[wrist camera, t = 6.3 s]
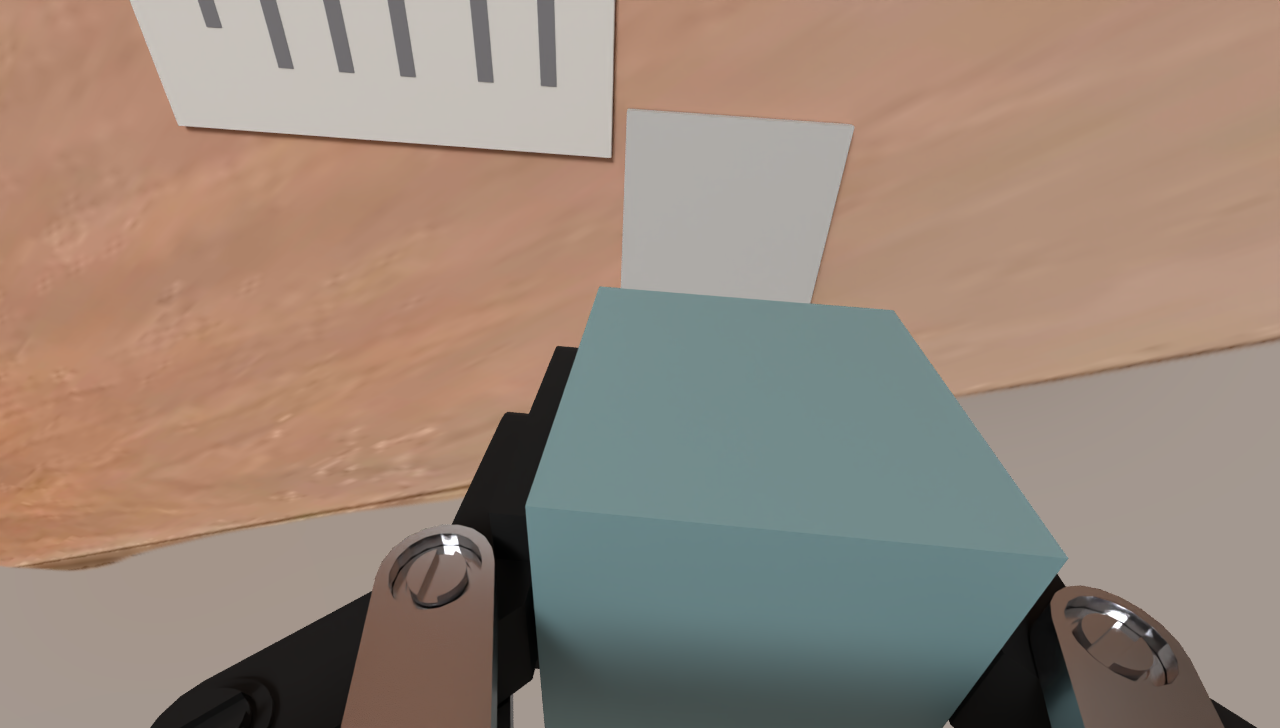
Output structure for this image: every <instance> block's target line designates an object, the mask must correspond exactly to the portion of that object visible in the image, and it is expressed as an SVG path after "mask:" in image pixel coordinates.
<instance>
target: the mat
mask: <svg viewBox="0 0 1280 728" xmlns="http://www.w3.org/2000/svg"><path fill="white" fill-rule="evenodd" d="M853 130H854V126H853V125H852V124H840V123H826V122H811V121H797V120H783V119H769V118H755V117H741V116H727V115H712V114H698V113H684V112H670V111H656V110H642V109H628V110H627V127H626V156H625V184H624V213H623V241H622V270H621V288H623V289H636V290H648V291H660V292H673V293H685V294H697V295H710V296H722V297H734V298H747V299H759V300H772V301H784V302H796V303H809V304H810V302H811V298H812V294H813V290H814V286H815V282H816V278H817V274H818V270H819V266H820V262H821V258H822V254H823V250H824V246H825V242H826V238H827V234H828V230H829V226H830V222H831V218H832V214H833V210H834V206H835V202H836V198H837V194H838V190H839V186H840V182H841V178H842V174H843V170H844V166H845V162H846V158H847V154H848V150H849V146H850V142H851V138H852V134H853Z"/></svg>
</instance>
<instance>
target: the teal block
mask: <svg viewBox="0 0 1280 728" xmlns="http://www.w3.org/2000/svg"><path fill="white" fill-rule="evenodd" d="M525 509H526V521H527V532H528V543H529V554H530V566H531V577H532V588H533V599H534V611H535V622H536V633H537V644H538V656H539V667H540V677H541V689H542V701H543V711H544V723H545V728H943V726H944V725H945V724H946V722H947V721H948V720H949V718H950V717H951V716H952V714H953V713H954V712H955V710H956V709H957V708H958V706H959V705H960V704H961V702H962V701H963V699H964V698H965V697H966V695H967V694H968V693H969V691H970V690H971V689H972V687H973V686H974V685H975V683H976V682H977V681H978V679H979V678H980V677H981V675H982V674H983V673H984V671H985V670H986V669H987V667H988V666H989V664H990V663H991V662H992V660H993V659H994V658H995V656H996V655H997V654H998V652H999V651H1000V650H1001V648H1002V647H1003V646H1004V644H1005V643H1006V642H1007V640H1008V639H1009V638H1010V636H1011V635H1012V634H1013V632H1014V631H1015V629H1016V628H1017V627H1018V625H1019V624H1020V623H1021V621H1022V620H1023V619H1024V617H1025V616H1026V615H1027V613H1028V612H1029V611H1030V609H1031V608H1032V607H1033V605H1034V604H1035V603H1036V601H1037V600H1038V598H1039V597H1040V596H1041V594H1042V593H1043V592H1044V590H1045V589H1046V588H1047V586H1048V585H1049V584H1050V582H1051V581H1052V580H1053V578H1054V577H1055V576H1056V574H1057V573H1058V572H1059V570H1060V569H1061V567H1062V566H1063V565H1064V563H1065V562H1066V561H1067V559H1068V557H1067V556H1066V554H1065V553H1064V552H1063V550H1062V549H1061V547H1060V546H1059V545H1058V543H1057V542H1056V540H1055V539H1054V537H1053V536H1052V535H1051V533H1050V532H1049V530H1048V529H1047V528H1046V526H1045V525H1044V523H1043V522H1042V521H1041V519H1040V518H1039V516H1038V515H1037V513H1036V512H1035V511H1034V509H1033V508H1032V506H1031V505H1030V503H1029V502H1028V501H1027V499H1026V498H1025V496H1024V495H1023V493H1022V492H1021V491H1020V489H1019V488H1018V486H1017V485H1016V484H1015V482H1014V481H1013V479H1012V478H1011V476H1010V475H1009V474H1008V473H1007V471H1006V469H1005V468H1004V467H1003V465H1002V464H1001V462H1000V461H999V460H998V458H997V457H996V455H995V454H994V452H993V451H992V449H991V448H990V447H989V445H988V444H987V442H986V441H985V440H984V438H983V437H982V435H981V434H980V432H979V431H978V430H977V428H976V427H975V426H974V424H973V423H972V421H971V420H970V418H969V417H968V415H967V414H966V413H965V411H964V410H963V408H962V407H961V406H960V404H959V403H958V401H957V400H956V398H955V397H954V396H953V394H952V393H951V391H950V390H949V389H948V387H947V386H946V384H945V383H944V381H943V380H942V379H941V377H940V376H939V374H938V373H937V371H936V370H935V369H934V367H933V366H932V364H931V363H930V362H929V360H928V359H927V357H926V356H925V354H924V353H923V352H922V350H921V349H920V347H919V346H918V345H917V343H916V342H915V340H914V339H913V337H912V336H911V335H910V333H909V332H908V330H907V329H906V328H905V326H904V325H903V323H902V322H901V320H900V319H899V318H898V316H897V315H896V313H895V312H894V311H893V310H883V309H870V308H858V307H846V306H833V305H821V304H809V303H796V302H784V301H772V300H759V299H747V298H734V297H722V296H710V295H697V294H685V293H673V292H660V291H648V290H636V289H623V288H611V287H599V289H598V292H597V295H596V298H595V301H594V304H593V307H592V310H591V313H590V316H589V319H588V322H587V325H586V328H585V331H584V334H583V337H582V340H581V343H580V346H579V348H578V351H577V354H576V357H575V360H574V363H573V366H572V369H571V372H570V375H569V378H568V381H567V384H566V387H565V390H564V393H563V396H562V399H561V402H560V405H559V408H558V411H557V414H556V417H555V419H554V422H553V425H552V428H551V431H550V434H549V437H548V440H547V443H546V446H545V449H544V452H543V455H542V458H541V461H540V464H539V467H538V470H537V473H536V476H535V479H534V482H533V485H532V487H531V490H530V493H529V496H528V499H527V502H526V505H525Z"/></svg>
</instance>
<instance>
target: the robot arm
mask: <svg viewBox="0 0 1280 728" xmlns="http://www.w3.org/2000/svg"><path fill="white" fill-rule="evenodd" d="M577 351H578V348H575V347H563V346H557V347H556V349H555V351H554V354H553V356H552V359H551V361H550V363H549V366H548V368H547V371H546V373H545V376H544V378H543V381H542V383H541V386H540V388H539V390H538V393H537V395H536V398H535V400H534V403H533V405H532V408H531V410H530V413H529V414H526V413H514V412H507V413H505V414H504V416H503V417H502V419H501V421H500V423H499V425H498V427H497V429H496V432H495V434H494V436H493V438H492V440H491V442H490V444H489V446H488V449H487V451H486V453H485V455H484V457H483V459H482V461H481V463H480V465H479V468H478V470H477V472H476V474H475V476H474V478H473V480H472V482H471V485H470V487H469V489H468V491H467V493H466V495H465V497H464V499H463V502H462V504H461V506H460V508H459V510H458V512H457V514H456V516H455V519H454V521H453V523H452V525H439V526H434V527H430V528H425V529H423V530H421V531H419V532H417V533H414V534H412V535H410V536H408V537H407V538H405V539H404V540H403V541H402V542H400V543H399V544H398V545H396V546H395V547H394V548H393V549H392V550H391V551H390V552H389V554H388V555H387V556H386V557H385V558H384V560H383V561H382V563H381V565H380V567H379V570H378V572H377V575H376V577H375V582H374V586H373V590H372V591H371V592H369V593H367V594H366V595H364V596H362V597H360V598H358V599H356V600H354V601H353V602H351V603H349V604H347V605H345V606H343V607H342V608H340V609H338V610H336V611H334V612H332V613H330V614H328V615H326V616H325V617H323V618H321V619H319V620H317V621H315V622H313V623H311V624H310V625H308V626H306V627H304V628H302V629H300V630H298V631H297V632H295V633H293V634H291V635H289V636H287V637H285V638H284V639H282V640H280V641H278V642H276V643H274V644H272V645H270V646H269V647H267V648H265V649H263V650H261V651H259V652H257V653H256V654H254V655H252V656H250V657H248V658H246V659H244V660H242V661H241V662H239V663H237V664H235V665H233V666H231V667H230V668H228V669H226V670H224V671H222V672H220V673H218V674H216V675H214V676H213V677H211V678H209V679H207V680H205V681H203V682H202V683H200V684H199V685H197V686H196V687H194V688H193V689H191V690H190V691H188V692H187V693H185V694H183V695H182V696H180V697H179V698H178V699H177V700H176V701H175V702H174V703H173V704H172V705H171V706H170V707H169V708H167V709H166V710H165V711H164V712H163V713H162V714H161V715H160V716H159V717H158V718H157V720H156V721H155V722H154V724H153V725H152V726H151V728H513V693H515V692H516V691H517V690H519V689H520V688H521V687H523V686H524V685H525V684H527V683H528V682H529V681H531V680H532V678H533V675H534V670H535V668H536V669H540V667H539V656H538V644H537V633H536V622H535V611H534V599H533V588H532V577H531V566H530V554H529V543H528V532H527V521H526V509H525V505H526V502H527V499H528V496H529V493H530V490H531V487H532V485H533V482H534V479H535V476H536V473H537V470H538V467H539V464H540V461H541V458H542V455H543V452H544V449H545V446H546V443H547V440H548V437H549V434H550V431H551V428H552V425H553V422H554V419H555V417H556V414H557V411H558V408H559V405H560V402H561V399H562V396H563V393H564V390H565V387H566V384H567V381H568V378H569V375H570V372H571V369H572V366H573V363H574V360H575V357H576V354H577ZM949 722H950V724H951V725H952V726H953V727H954V728H1257V727H1255V726H1253V725H1252V724H1250V723H1249V722H1247V721H1245V720H1244V719H1242V718H1241V717H1239V716H1238V715H1236V714H1234V713H1233V712H1231V711H1230V710H1228V709H1226V708H1225V707H1223V706H1222V705H1220V704H1219V703H1217V702H1215V701H1214V700H1212V699H1210V698H1209V696H1208V694H1207V692H1206V690H1205V688H1204V686H1203V684H1202V682H1201V680H1200V678H1199V676H1198V674H1197V672H1196V670H1195V668H1194V666H1193V664H1192V662H1191V660H1190V658H1189V657H1188V655H1187V654H1186V653H1185V651H1184V649H1183V648H1182V646H1181V645H1180V643H1179V642H1178V641H1177V640H1176V639H1175V638H1174V637H1173V636H1172V635H1171V634H1170V633H1169V632H1168V631H1167V630H1166V629H1165V628H1164V626H1163V625H1161V624H1160V623H1159V622H1158V621H1156V620H1155V619H1154V618H1152V617H1151V616H1150V615H1148V614H1147V613H1146V612H1145V611H1143V610H1142V609H1140V608H1138V607H1137V606H1135V605H1133V604H1131V603H1130V602H1128V601H1126V600H1124V599H1123V598H1121V597H1119V596H1116V595H1113V594H1111V593H1108V592H1106V591H1103V590H1101V589H1096V588H1091V587H1086V586H1070V587H1066V586H1065V585H1064V583H1063V582H1062V581H1061V579H1060V577H1059V576H1058V574H1056V576H1055V577H1054V578H1053V580H1052V581H1051V582H1050V584H1049V585H1048V586H1047V588H1046V589H1045V590H1044V592H1043V593H1042V594H1041V596H1040V597H1039V598H1038V600H1037V601H1036V603H1035V604H1034V605H1033V607H1032V608H1031V609H1030V611H1029V612H1028V613H1027V615H1026V616H1025V617H1024V619H1023V620H1022V621H1021V623H1020V624H1019V625H1018V627H1017V628H1016V629H1015V631H1014V632H1013V634H1012V635H1011V636H1010V638H1009V639H1008V640H1007V642H1006V643H1005V644H1004V646H1003V647H1002V648H1001V650H1000V651H999V652H998V654H997V655H996V656H995V658H994V659H993V660H992V662H991V663H990V664H989V666H988V667H987V669H986V670H985V671H984V673H983V674H982V675H981V677H980V678H979V679H978V681H977V682H976V683H975V685H974V686H973V687H972V689H971V690H970V691H969V693H968V694H967V695H966V697H965V698H964V699H963V701H962V702H961V704H960V705H959V706H958V708H957V709H956V710H955V712H954V713H953V714H952V716H951V717H950V718H949Z"/></svg>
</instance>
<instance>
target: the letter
mask: <svg viewBox="0 0 1280 728" xmlns="http://www.w3.org/2000/svg"><path fill="white" fill-rule="evenodd" d="M130 2H131V5H132V7H133V10H134V12H135V15H136V18H137V20H138V23H139V25H140V28H141V30H142V33H143V36H144V38H145V41H146V43H147V46H148V48H149V51H150V54H151V56H152V59H153V61H154V64H155V66H156V69H157V72H158V74H159V77H160V79H161V82H162V84H163V87H164V90H165V92H166V95H167V97H168V100H169V102H170V105H171V108H172V110H173V113H174V115H175V118H176V120H177V123H178V126H191V127H205V128H218V129H231V130H245V131H258V132H271V133H285V134H298V135H311V136H324V137H338V138H351V139H364V140H378V141H391V142H404V143H418V144H431V145H444V146H458V147H471V148H484V149H498V150H511V151H524V152H537V153H551V154H564V155H577V156H591V157H604V158H611V157H612V125H613V79H614V33H615V0H130Z"/></svg>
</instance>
